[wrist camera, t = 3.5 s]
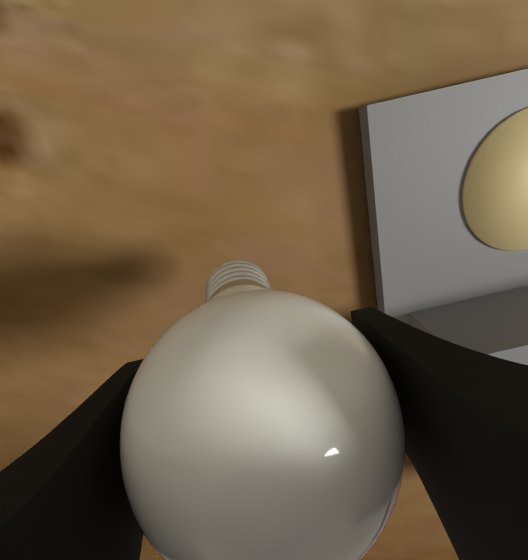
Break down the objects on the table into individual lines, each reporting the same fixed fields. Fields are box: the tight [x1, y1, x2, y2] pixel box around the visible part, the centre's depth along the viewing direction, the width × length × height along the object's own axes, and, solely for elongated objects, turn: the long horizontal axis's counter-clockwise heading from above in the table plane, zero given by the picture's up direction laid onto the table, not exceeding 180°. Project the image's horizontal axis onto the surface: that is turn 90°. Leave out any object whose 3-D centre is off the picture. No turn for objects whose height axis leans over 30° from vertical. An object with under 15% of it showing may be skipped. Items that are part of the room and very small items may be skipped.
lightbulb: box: [120, 260, 405, 560], centre depth 10 cm, size 6×6×11 cm
